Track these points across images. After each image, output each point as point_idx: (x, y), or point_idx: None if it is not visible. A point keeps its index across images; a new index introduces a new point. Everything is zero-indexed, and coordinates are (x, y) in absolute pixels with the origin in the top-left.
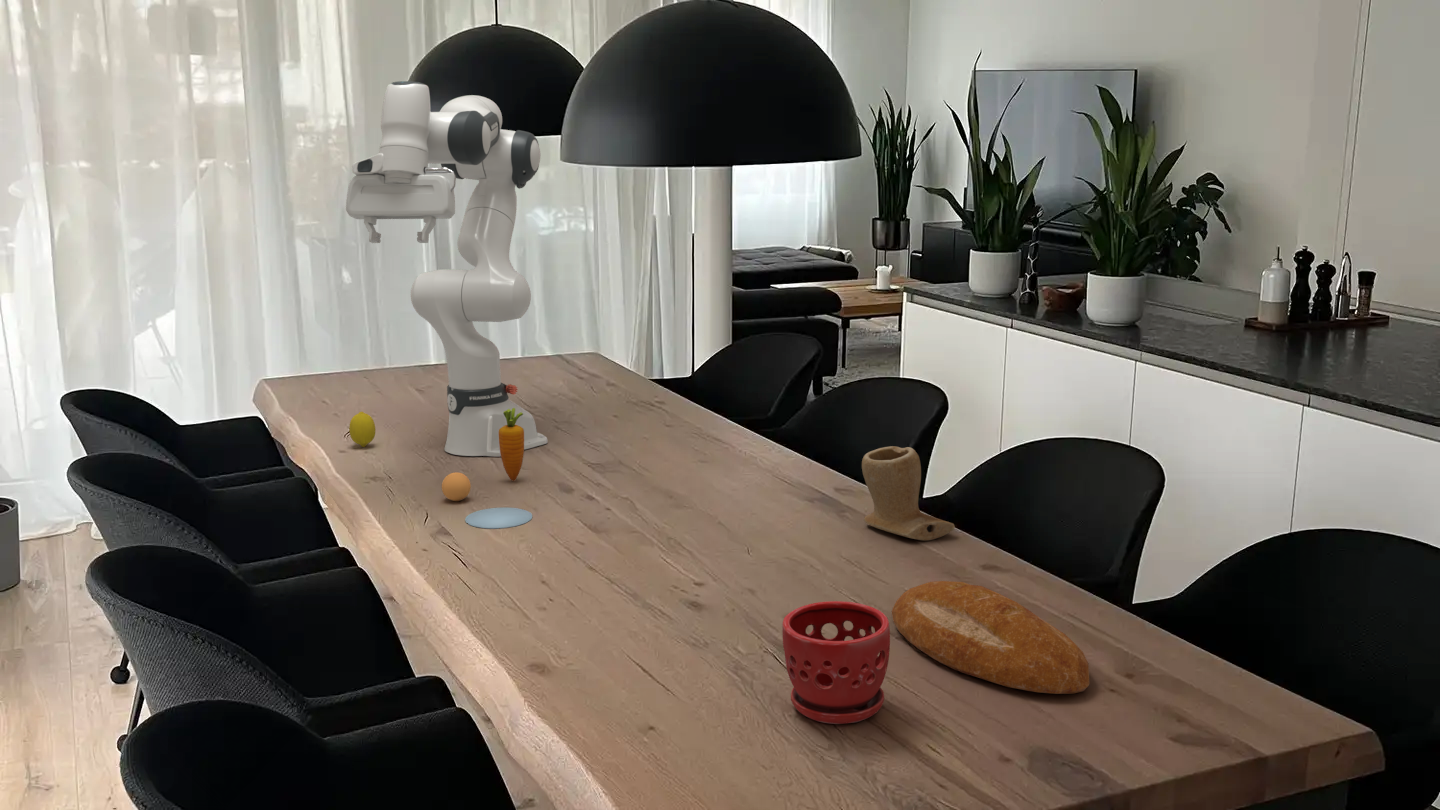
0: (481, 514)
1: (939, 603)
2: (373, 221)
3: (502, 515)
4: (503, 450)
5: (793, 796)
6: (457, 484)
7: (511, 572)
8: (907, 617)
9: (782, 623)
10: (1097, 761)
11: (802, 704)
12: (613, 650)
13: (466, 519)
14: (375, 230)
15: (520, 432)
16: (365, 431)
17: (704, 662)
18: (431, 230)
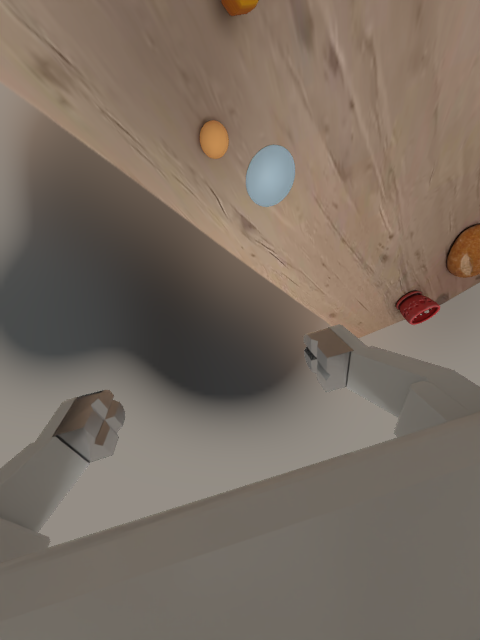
0: (255, 177)
1: (470, 260)
2: (16, 547)
3: (271, 172)
4: (234, 14)
5: (384, 327)
6: (223, 154)
7: (307, 261)
8: (455, 258)
9: (410, 319)
10: (451, 293)
11: (398, 308)
12: (352, 299)
13: (250, 195)
14: (31, 462)
15: None
16: None
17: (378, 293)
18: (395, 354)
